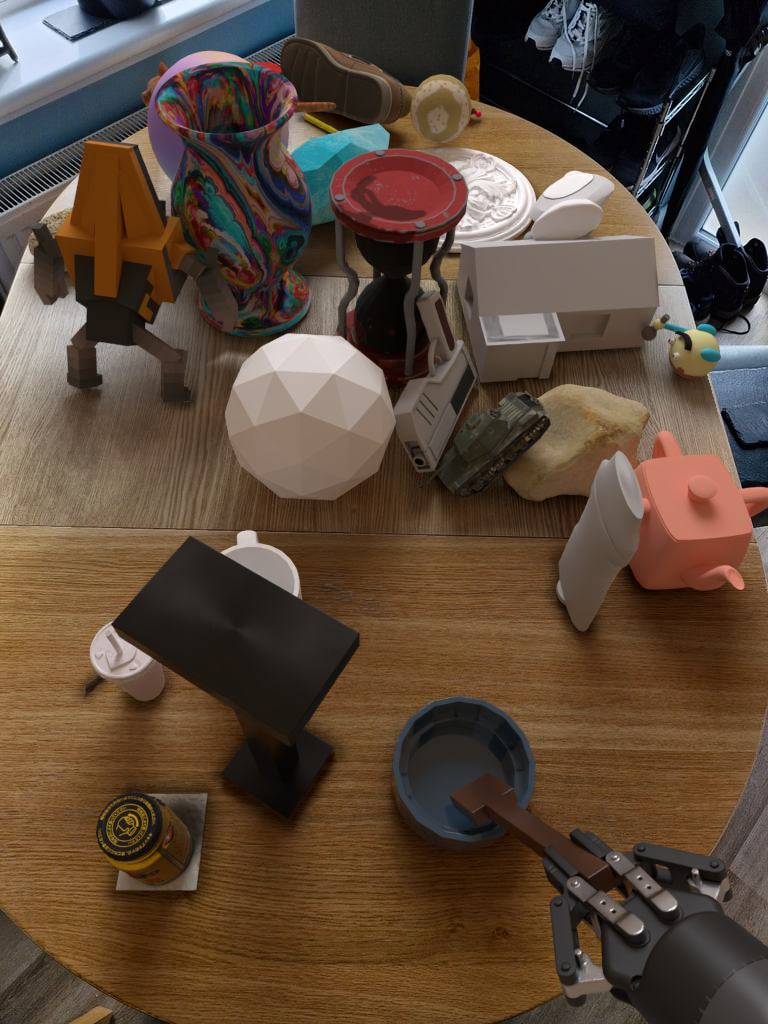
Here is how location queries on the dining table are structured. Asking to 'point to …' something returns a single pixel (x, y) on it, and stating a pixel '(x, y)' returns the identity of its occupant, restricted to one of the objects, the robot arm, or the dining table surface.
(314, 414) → the geometric sculpture
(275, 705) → the black pedestal stand
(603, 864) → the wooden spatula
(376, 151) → the hourglass
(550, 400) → the stone
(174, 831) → the condiment
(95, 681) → the stick
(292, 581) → the mug
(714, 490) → the teapot
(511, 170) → the ceiling medallion
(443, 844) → the bowl
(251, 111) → the vase
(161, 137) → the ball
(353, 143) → the crystal
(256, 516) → the dining table surface
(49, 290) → the toy robot
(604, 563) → the tall pale column
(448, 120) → the mushroom
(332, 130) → the pencil
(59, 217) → the decorative item
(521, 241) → the miniature house
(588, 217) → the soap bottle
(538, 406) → the toy tank
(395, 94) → the boat shoe
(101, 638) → the smoothie
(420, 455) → the futuristic handgun
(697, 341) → the figurine
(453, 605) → the dining table surface
